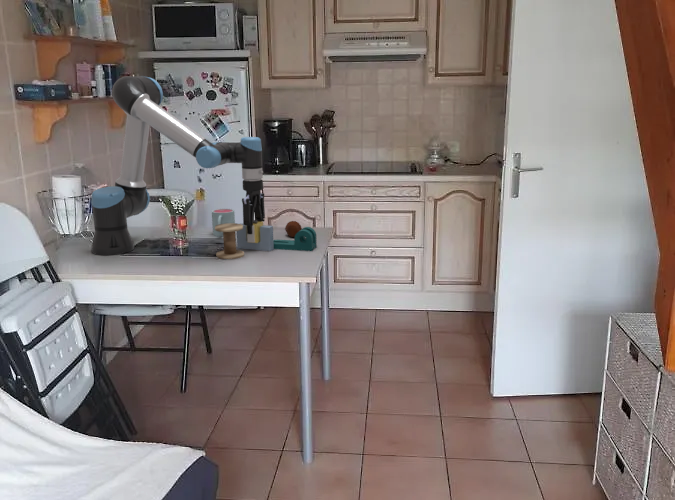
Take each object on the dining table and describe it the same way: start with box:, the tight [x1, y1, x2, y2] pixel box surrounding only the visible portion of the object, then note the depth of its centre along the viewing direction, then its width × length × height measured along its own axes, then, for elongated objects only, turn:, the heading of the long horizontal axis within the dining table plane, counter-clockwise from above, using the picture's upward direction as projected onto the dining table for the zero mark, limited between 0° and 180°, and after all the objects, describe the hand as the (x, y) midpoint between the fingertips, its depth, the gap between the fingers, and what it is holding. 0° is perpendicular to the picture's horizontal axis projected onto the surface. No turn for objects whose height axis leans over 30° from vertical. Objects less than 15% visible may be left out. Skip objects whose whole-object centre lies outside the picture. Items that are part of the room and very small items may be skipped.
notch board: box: [236, 223, 275, 252], centre depth 238 cm, size 14×3×9 cm, turn 69°
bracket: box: [273, 226, 317, 252], centre depth 239 cm, size 18×7×8 cm, turn 77°
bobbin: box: [215, 222, 245, 260], centre depth 228 cm, size 10×10×11 cm
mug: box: [211, 208, 236, 238], centre depth 259 cm, size 14×9×10 cm
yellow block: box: [247, 219, 264, 243], centre depth 237 cm, size 4×6×8 cm
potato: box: [284, 220, 303, 238], centre depth 258 cm, size 7×9×6 cm
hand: (255, 240), depth 238 cm, fingers closed on yellow block, 5 cm apart
